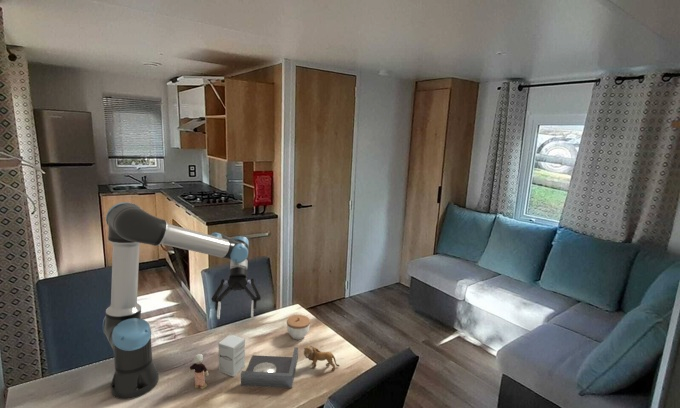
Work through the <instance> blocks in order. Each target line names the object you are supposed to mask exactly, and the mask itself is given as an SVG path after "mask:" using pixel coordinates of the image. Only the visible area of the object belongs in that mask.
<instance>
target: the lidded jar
mask: <svg viewBox="0 0 680 408" xmlns="http://www.w3.org/2000/svg"><path fill="white" fill-rule="evenodd" d="M310 325H311V319H310V318H309V317H308V316H306V315H302V314H296V315H291V316H289V317H288V318H287V319H286V328H287V329H286V330H287V332H288V335H289V336H291V338H292V339H294V340H302V339H304V338H305V337H306V336H308V333H309V331H310Z"/></svg>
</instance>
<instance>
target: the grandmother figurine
mask: <svg viewBox="0 0 680 408" xmlns="http://www.w3.org/2000/svg"><path fill="white" fill-rule="evenodd" d="M203 359H204V355H203V354H202V353H197V354H196V355H195V356H194V358H193V361H192V362H193V364H191V365H190V366H189V369H188V372H189V373H191V372H192V371H194V383H195V385H194V389H198V388H200V389H202V390H203V389H205V388H207V387H208V383H206V379H205V376H206V377H208V376H209V371H208V368H207V367H206V365H205V364H204V363H203V361H204V360H203Z"/></svg>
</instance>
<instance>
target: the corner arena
mask: <svg viewBox="0 0 680 408" xmlns="http://www.w3.org/2000/svg"><path fill="white" fill-rule="evenodd" d="M298 360H299V347H294V349H293V354H292V357H291V356H276V355H275V356H274V355H256V354H253V355H252V357H251V359H250V361H249V364H248V366H247V368H246V370H241V372H240V386H241V387H259V388H260V387H262V388H280V389H281V388H282V389H283V388H284V389H285V388H286V389H292V388H293V384H294V380H295V374H296V369H297V365H298Z"/></svg>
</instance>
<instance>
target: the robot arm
mask: <svg viewBox="0 0 680 408" xmlns="http://www.w3.org/2000/svg"><path fill="white" fill-rule="evenodd" d="M105 216H106V217H105V221H106V225H107V226H108V232H107V233H108V236H107V240H108V242H109V243H111V245H112V257H111V258H112V263H111V291H110V293H111V294H110V305H109V306H108V307H107V308H106V309H105V316H104V318H103V321H102V332H103V334H104V335H105V337H106V339H107V341H108V342H109V343H108V344H110V347H111V349H112V351H113V358H114V359H113V360H114V373H113V377H112V380H111V383H110V393H111V395H112V396H113V397H114V398H117V399H120V400H130V399H136V398H138V397H141V396H143V395H145V394H147V393H149V392H150V391H152V390H153V389H155V387H156V386H157V385H158V383H159V378H160V377H159V371H158V370H157V367H156V366H155V363H154V361H153V353H152V351H153V350H152V349H153V348H152V330H151V326H150V324H149V323H150V322H148V321H147V320H146V319H144V318H141V317H142V306H141V304H139V303H138V291H139V290H138V289H139V288H138V287H139V286H138V285H139V266H140V265H139V264H140V244H144V245H149V246H155V247H158V246H160V245H164V246H169V247H172V248H173V247H174V248H178V249H181V250H186V251H192V252H195V253H196V252H197V253H201V254H205V255H209V256H214V257H218V258H222V259H226V260H229V261H230V262H229V263H230V267H229V275H228V277H229V278H228V280H225V279H221V280H220V284H219V286H218V287H217V289H216V290H215V292H214V294H213V295H212V297H211V302H213V303H214V304H215V306H214V309H215V311H216V318H217V320H220V317H221V309H222V301H223V300H224V298H225V297H226V296H227V295H228V294H229V293H231V292H232V291H233V292H234V291H242V290H243V291H244V292H245V293H246V294H247V295H248V296H249V298H250V299H251V306H250V307H251V309H250V317H251V318H252V319H253V318H254V310H257V302H258V301H261V299H262V298H261V294H260V293H259V291H258V289H257V287H256V285H255V281H254V280H255V279H254V278H250V279H247V278H248V266H249V264H248V263H249V262H248V260H249V249H250V248H249V246H250V245H249V243H250V242H249V239H248V238H247V237H245V236H241V235H240V236H235V237H233V238H232V237H229V236H227V235H225V234H223V233H219V232H212V233H211V234H208V233H203V232H200V231H197V230H192V229H189V228H185V227H180V226H177V225H173V224H170V223H168V222H167V220H166V219H162V218H159V217H156V216H154V215H152V214H151V213H149V212H147V211H145V210H144V209H142V208H141V207H140V206H138V205H137V204H135V203H133V202H132V203H131V202H125V201H124V202H119V203H116V204H114V205H113V206H111V207H110V208H109V209H108V211H107V212H106V215H105ZM248 284H249V285H250V286H251V288H252V290H253V292H254V294H253V292H252V291H250V289H249V288H248V287H247V285H248ZM227 285H228V286H227ZM225 286H227V287H226V289H225V290H223V289H224V287H225ZM222 290H223V292H222ZM221 292H222V293H221Z"/></svg>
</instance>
